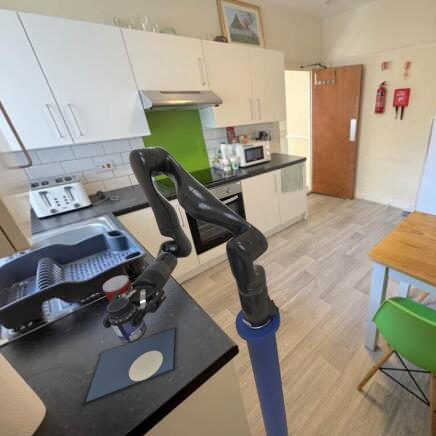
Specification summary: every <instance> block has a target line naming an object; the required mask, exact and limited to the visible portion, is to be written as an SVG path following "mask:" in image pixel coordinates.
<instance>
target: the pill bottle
mask: <svg viewBox="0 0 436 436" xmlns="http://www.w3.org/2000/svg"><path fill="white" fill-rule="evenodd" d="M108 304H109V303H108ZM138 310H139V308H138V306H136V305H135V304H132V303H131V302H130V300H129V299H128V298H126V297H123V298H119V299H116V300H115V301H113V302H112V303H110V304H109V306H108V307H107V309H106V311H107V314H110V316H109V322H110V324H111V327H112V328H113V330H114V332H115V334H116V336H117V337H118V339H119V340H120V342H121V343H122V344H124V345H126V344H129V343H132V342H135V341H138V340H141V338H142V337H143V336H144V335H145V334H146V333H147V329H148V326H147V324H146V323H145V321H144V318H143V319H142V321H141V322H140V323H139V324H138V325H137V326H136V327H132V325H131V323H130V321H131V319H132V318H133V316H134V315H135V313H136V312H137V311H138Z"/></svg>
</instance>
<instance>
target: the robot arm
mask: <svg viewBox="0 0 436 436" xmlns="http://www.w3.org/2000/svg"><path fill="white" fill-rule="evenodd" d="M128 161H129V165H130V168H131V170H132V173H133V175H134V177H135V179H136V181H137V183H138V185H139V188H140V189H141V191H142V193H143V195H144V197H145V199H146V200H147V202H148V204H149V206H150V209H151V211H152V212H153V215H154V219H155V221H156V222H155V223H156V225H157V228H158V231H159V234H160V235H161V236H162V237H166V238H170V239H167V240H164V241H162V242H161V244H160V246H159V249H158V252H157V254H156V256H155V258H154V259H153V261H151V263H150V264H149V265H147V266H146V267H145V269H144V270H143V271H142V273H140V275H138V277H137V278H136V279H135V280H134V282H133V284H132V289H131V290H130V291H128V292H127V293H126V294H121V293H120V292H117V293H116V294H115V295H114V297H113V298H112V300H111V301H108V304H107V305H106V306H105V309H106V310H107V307H108V306H109V304H110V303H112V302H113V301H115V300H116V299H119V298H123V297H126V298H128V299H129V300H130V302H131V303H132V304H135V305H136V306H137V308H138V307H139V308H138V311H137V312H136V313H135V315H134V316H133V318H132V319H131V321H130V323H131V325H132V327H136V326H137V325H138V324H139V323H140V322H141V321H142V319H143V320H144V318H145V316H147V315H148V314H149V313H151V314H154V313H156V312H157V311H158V309H159V308H160V307H161V305H162V304H163V303H164V301H166V299H167V294H166V292H165V290H164V287H165V285H167V283H168V281H169V279H170V278H171V276H172V274H173V272H174V271H175V269H176V268H177V266H178V262H179V259H184V258H188V257H189V256H191V254H192V252H193V246H192V242H191V240H190V238H189V237H188V235H187V234H186V232H185V230H184V229H183V227H182V225H181V222H180V218H179V215H178V214H179V213H178V212H177V210H176V208H175V206H174V205H173V204H172V203H171V202H170V201H169V200H168V199H167V198H166V197H164V196H163V194H161V192H160V191H159V190H158V189H157V187H156V185H155V182H154V178H157V177H161V176H166V177H167V178H169V179H170V180H171V181H172V182H173V183H174V186H175V195H176V199H177V203H178V204H179V206H180V207H181V208H182V209H183V210H184V211H185V212H186V213H187V214H188V215H190V216H191V217H192V218H193V219H195V220H197V221H198V222H201V223H203V224H208V225H210V226H214V227H217V228H218V227H219V228H221V229H224V230H226V231H228V232H230V233H231V234H232V235H233V237H231V238H230V239H229V240H227V242H226V244H225V252H226V253H225V254H226V257H227V260H228V264H229V268H230V271H231V274H232V277H233V278H234V280H235V283H236V284H235V285H236V288H237V293H238V298H239V302H240V303H239V304H240V307H241V310H242V313H243V318H244V319H243V318H242V319H243V322H244V324H245V325H246V327H248V328H249V329H252V330H259V329H262V328H264V327H266V326H267V325H268V324H269V323H270V321H272V320H273V315H277V313H278V311H279V312H280V308H279V307H278V306H277V305H276V303H275V301H274V299H271V296H270V295H269V289H268V280H267V273H266V270H265V267H264V266H263V265H261V264H259V263H256V261H257V260H258V259H260V257H262V256H263V255H264V254H265V253H266V252H267V251H268V250H269V241H268V239H267V237H266V236H265V234H264V233H263V232H262V231H261V230H260V229H259V228H258V227H256V226H255V225H253V224H252V223H250V222H249V221H248V220H246V219H245V218H244V217H242V216H240V215H239V214H237V213H236V212H235V211H233V210H232V208H230V207H228V206H227V205H226V204H225V203H224V202H223V201H221V200H220V199H219V198H218V197H217V196H216V195H215V194H214V193H213V192H212V191H210V190H209V189H208V188H207V187H206V186H205V185H203V184H202V183H200V181H198V180H197V179H196V178H195V177H194V176H192V174H191V173H189V172H188V171H187V170H186V169H185V168H184V167H183V165H182V164H181V163H179V162H178V160H177V159H176V158H175V157H174V156H173V155H172V154H171V153H170V152H169V151H168V150H166V149H165V148H164V147H162V146H150V147H142V148H141V147H140V148H135V149H132V150H130V152H129V155H128ZM109 316H110V314H109V313H107V315H106V317H105V318H104V319H103V320H102V325H103V327H104V328H105V329H110V328H111V327H112V325H111V324H110V322H109Z"/></svg>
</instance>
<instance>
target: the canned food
mask: <svg viewBox="0 0 436 436" xmlns="http://www.w3.org/2000/svg"><path fill="white" fill-rule="evenodd" d="M132 287H133V284H132V283H131V280H130V278H129V277H128V276H127V275H124V274H123V275H117V276H114V277H112V278H109V279H108V280H107V281H105V282H104V283H103V285H102V290H103V293H104V294H105V296H106V298H107V300H108V302H110V301H111V300H112V298H113V297H114V295H115V294H116V293H117V292H120V293H121V294H126V293H127V292H128V291H130V290H131V289H132Z"/></svg>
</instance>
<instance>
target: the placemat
mask: <svg viewBox="0 0 436 436" xmlns="http://www.w3.org/2000/svg"><path fill="white" fill-rule="evenodd" d="M175 337H176V329H175V328H171V329H169V330H165V331H163V332H158V333H157V334H154V335H150V336H148V337H145V338H142V339H141V338H140V339H138V340H137V341H135V342H132V343H128V344H124V345H123V344H122V345H121V346H117V347H114V348H112V349H109V350H105V351H103V352H101V355H100V358H99V361H98V363H97V367H96V370H95V372H94V375H93V378H92V381H91V384H90V387H89V390H88V393H87V396H86V399H85V402H86V403H89V402H91V401H93V400H97V399H98V398H101V397H104V396H106V395H109V394H112V393H115V392H118V391H119V390H122V389H125V388H127V387H130V386H132V385H135V384H138V383H140V382H143V381H145V380H148V379H151V378H154V377H156V376H158V375H161V374H163V373H166V372H168V371H171V370H173V369H174V360H175V341H176V340H175V339H176V338H175Z"/></svg>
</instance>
